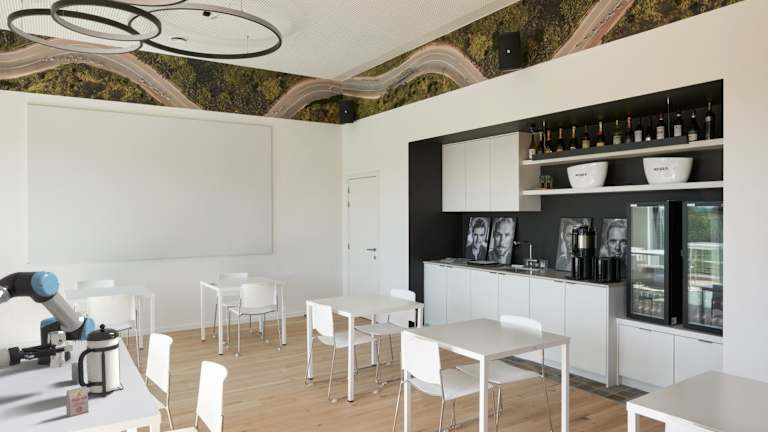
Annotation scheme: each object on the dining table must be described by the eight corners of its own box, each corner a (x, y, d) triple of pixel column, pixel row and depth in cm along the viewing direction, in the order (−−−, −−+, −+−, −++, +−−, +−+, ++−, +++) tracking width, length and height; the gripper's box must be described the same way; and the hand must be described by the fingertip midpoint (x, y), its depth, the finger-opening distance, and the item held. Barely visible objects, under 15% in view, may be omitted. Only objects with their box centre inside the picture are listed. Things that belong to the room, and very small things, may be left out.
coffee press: (84, 389, 232) (82, 322, 231) (124, 384, 238) (122, 318, 238) (78, 403, 216) (76, 331, 216) (122, 396, 222) (119, 326, 222)
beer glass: (70, 364, 234) (69, 331, 234) (56, 369, 228) (55, 335, 227) (59, 363, 237) (58, 330, 236) (44, 367, 230) (43, 334, 230)
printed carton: (66, 414, 204) (65, 389, 204) (85, 409, 209) (85, 385, 208) (69, 417, 201) (68, 391, 201) (88, 412, 206) (87, 387, 206)
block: (77, 384, 239) (76, 367, 239) (72, 380, 246) (71, 363, 246) (83, 383, 241) (82, 366, 241) (77, 379, 247) (77, 362, 247)
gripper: (4, 361, 226) (64, 349, 243) (12, 371, 213) (76, 358, 229) (3, 344, 226) (63, 333, 242) (12, 353, 212) (75, 341, 228)
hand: (69, 345), depth 236 cm, fingers closed on beer glass, 7 cm apart
